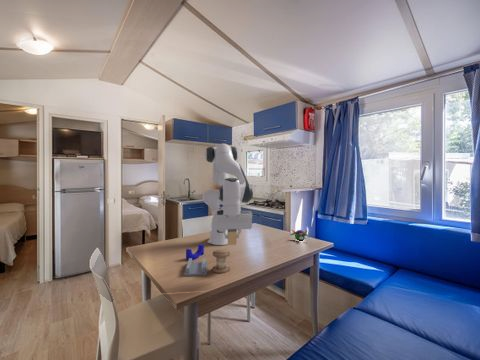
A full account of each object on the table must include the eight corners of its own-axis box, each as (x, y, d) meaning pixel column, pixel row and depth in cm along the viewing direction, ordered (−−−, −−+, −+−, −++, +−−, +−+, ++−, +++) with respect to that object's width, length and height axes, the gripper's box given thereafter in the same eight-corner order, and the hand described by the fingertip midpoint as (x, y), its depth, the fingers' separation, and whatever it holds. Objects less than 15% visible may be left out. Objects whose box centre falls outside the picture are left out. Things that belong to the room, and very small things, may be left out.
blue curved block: (191, 261, 132) (191, 250, 132) (186, 259, 134) (186, 249, 134) (205, 255, 142) (205, 245, 142) (200, 253, 144) (200, 244, 144)
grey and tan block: (227, 242, 114) (227, 228, 114) (235, 242, 115) (235, 228, 115) (228, 245, 110) (228, 230, 110) (236, 244, 111) (236, 229, 111)
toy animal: (305, 245, 161) (305, 232, 161) (288, 241, 172) (288, 228, 172) (314, 242, 168) (314, 230, 168) (297, 238, 180) (297, 226, 179)
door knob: (212, 266, 123) (212, 250, 123) (229, 265, 124) (229, 249, 124) (212, 273, 114) (212, 255, 114) (230, 272, 115) (230, 255, 115)
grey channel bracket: (187, 263, 127) (187, 257, 127) (207, 262, 128) (207, 256, 128) (183, 276, 111) (183, 269, 111) (206, 275, 112) (206, 268, 112)
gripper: (251, 209, 117) (251, 236, 117) (211, 210, 115) (211, 237, 114) (253, 211, 111) (253, 239, 111) (211, 211, 108) (211, 240, 108)
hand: (231, 238), depth 113 cm, fingers closed on grey and tan block, 4 cm apart
